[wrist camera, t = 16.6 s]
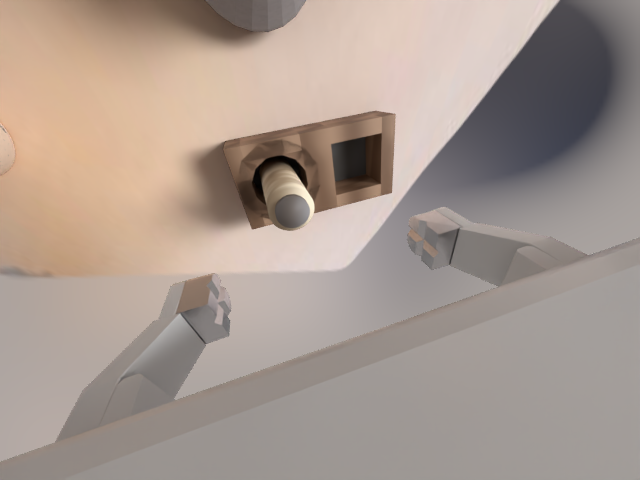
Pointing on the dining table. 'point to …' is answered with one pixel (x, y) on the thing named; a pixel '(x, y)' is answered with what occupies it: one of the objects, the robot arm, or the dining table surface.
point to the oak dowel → (285, 195)
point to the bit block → (319, 161)
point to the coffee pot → (257, 12)
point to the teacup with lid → (6, 150)
